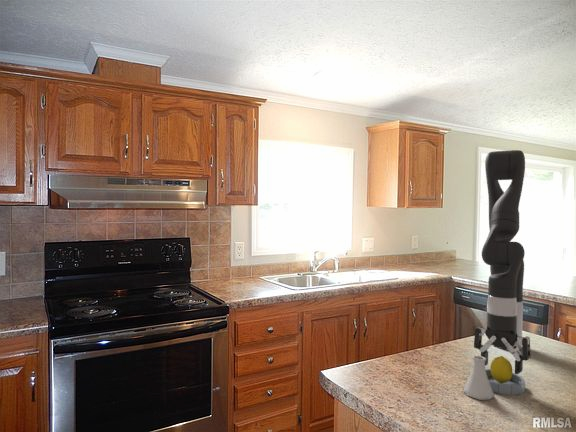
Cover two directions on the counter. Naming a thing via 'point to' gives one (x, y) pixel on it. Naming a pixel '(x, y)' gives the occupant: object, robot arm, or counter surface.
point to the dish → (507, 384)
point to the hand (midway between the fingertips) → (500, 368)
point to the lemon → (501, 369)
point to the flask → (478, 381)
